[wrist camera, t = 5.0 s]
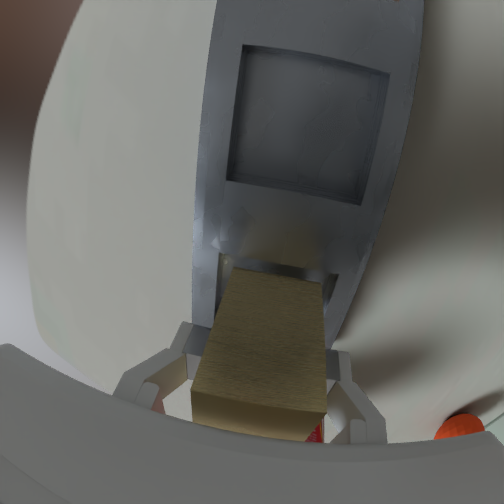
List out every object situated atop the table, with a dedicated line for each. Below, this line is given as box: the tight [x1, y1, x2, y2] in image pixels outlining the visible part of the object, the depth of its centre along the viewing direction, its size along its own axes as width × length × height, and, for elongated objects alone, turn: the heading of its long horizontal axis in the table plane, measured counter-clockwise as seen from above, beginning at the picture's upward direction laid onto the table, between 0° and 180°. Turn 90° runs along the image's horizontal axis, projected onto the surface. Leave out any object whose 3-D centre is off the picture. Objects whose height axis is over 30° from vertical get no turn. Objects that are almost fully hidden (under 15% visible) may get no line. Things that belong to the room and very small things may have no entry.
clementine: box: [434, 414, 485, 440], centre depth 21 cm, size 8×7×7 cm
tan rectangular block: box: [190, 266, 327, 442], centre depth 11 cm, size 4×4×6 cm
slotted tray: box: [192, 0, 424, 349], centre depth 11 cm, size 28×9×3 cm, turn 172°
